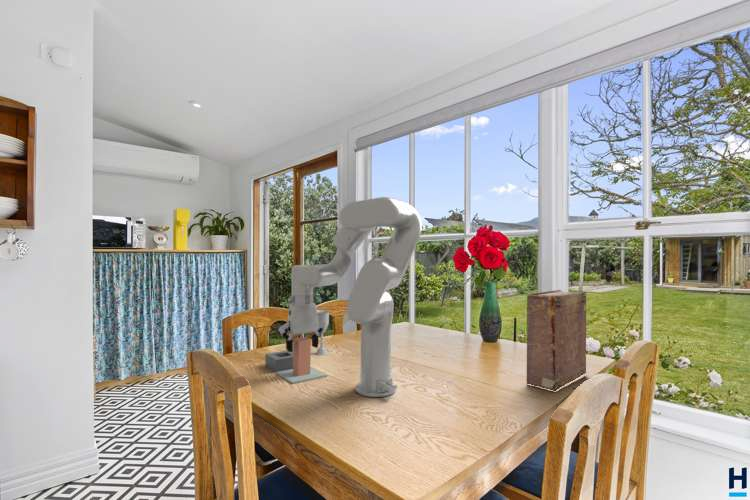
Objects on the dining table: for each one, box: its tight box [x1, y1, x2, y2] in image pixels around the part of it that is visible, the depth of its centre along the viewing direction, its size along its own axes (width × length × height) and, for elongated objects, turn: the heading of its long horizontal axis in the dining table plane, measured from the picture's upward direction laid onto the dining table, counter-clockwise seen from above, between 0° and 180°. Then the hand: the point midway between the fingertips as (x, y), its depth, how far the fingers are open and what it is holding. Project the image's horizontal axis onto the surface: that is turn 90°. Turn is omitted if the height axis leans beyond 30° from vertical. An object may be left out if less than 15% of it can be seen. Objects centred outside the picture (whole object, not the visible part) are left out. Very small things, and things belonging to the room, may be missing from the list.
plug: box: [292, 336, 312, 376], centre depth 134 cm, size 4×4×12 cm
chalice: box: [315, 309, 331, 356], centre depth 163 cm, size 7×7×18 cm
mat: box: [275, 365, 328, 385], centre depth 134 cm, size 13×13×1 cm
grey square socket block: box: [264, 350, 293, 373], centre depth 144 cm, size 10×10×4 cm
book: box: [526, 289, 587, 391], centre depth 130 cm, size 25×9×30 cm, turn 131°
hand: (302, 349), depth 134 cm, fingers open, 9 cm apart
